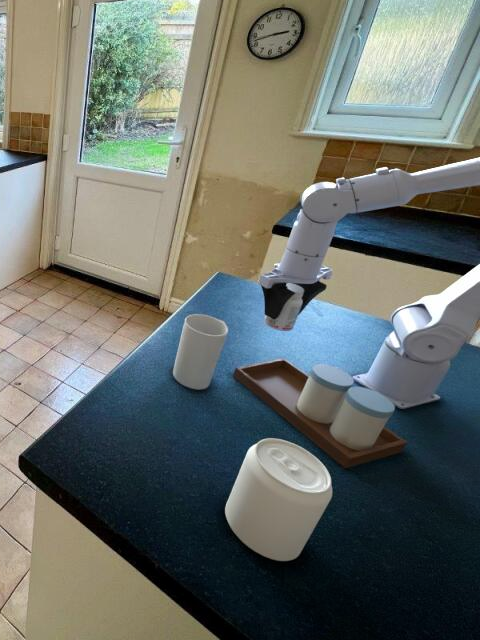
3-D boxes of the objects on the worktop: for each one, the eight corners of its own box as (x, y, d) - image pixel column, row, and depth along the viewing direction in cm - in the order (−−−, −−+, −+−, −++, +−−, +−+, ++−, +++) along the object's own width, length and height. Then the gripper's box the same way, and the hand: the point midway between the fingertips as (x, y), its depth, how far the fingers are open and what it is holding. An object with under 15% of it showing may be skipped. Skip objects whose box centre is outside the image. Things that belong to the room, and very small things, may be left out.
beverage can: (271, 576, 47) (308, 509, 42) (209, 513, 54) (234, 448, 49) (315, 546, 50) (353, 480, 45) (250, 489, 57) (278, 426, 52)
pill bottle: (289, 321, 82) (304, 284, 78) (294, 334, 78) (310, 295, 74) (261, 315, 84) (274, 279, 80) (264, 328, 80) (278, 290, 76)
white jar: (311, 397, 72) (328, 361, 68) (343, 420, 67) (362, 382, 64) (288, 403, 71) (304, 366, 67) (318, 426, 66) (337, 388, 63)
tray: (280, 366, 80) (283, 357, 79) (401, 452, 62) (408, 442, 62) (232, 376, 78) (235, 367, 77) (345, 468, 60) (350, 458, 59)
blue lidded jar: (345, 421, 67) (365, 383, 64) (381, 448, 62) (404, 408, 59) (320, 428, 66) (339, 389, 62) (355, 455, 61) (377, 415, 58)
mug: (195, 395, 73) (212, 340, 68) (163, 373, 79) (176, 320, 73) (230, 377, 77) (248, 324, 72) (197, 357, 83) (212, 306, 78)
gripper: (315, 238, 79) (292, 299, 85) (253, 245, 76) (233, 308, 82) (354, 253, 73) (326, 317, 79) (288, 261, 70) (264, 328, 76)
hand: (281, 314), depth 80 cm, fingers closed on pill bottle, 5 cm apart
